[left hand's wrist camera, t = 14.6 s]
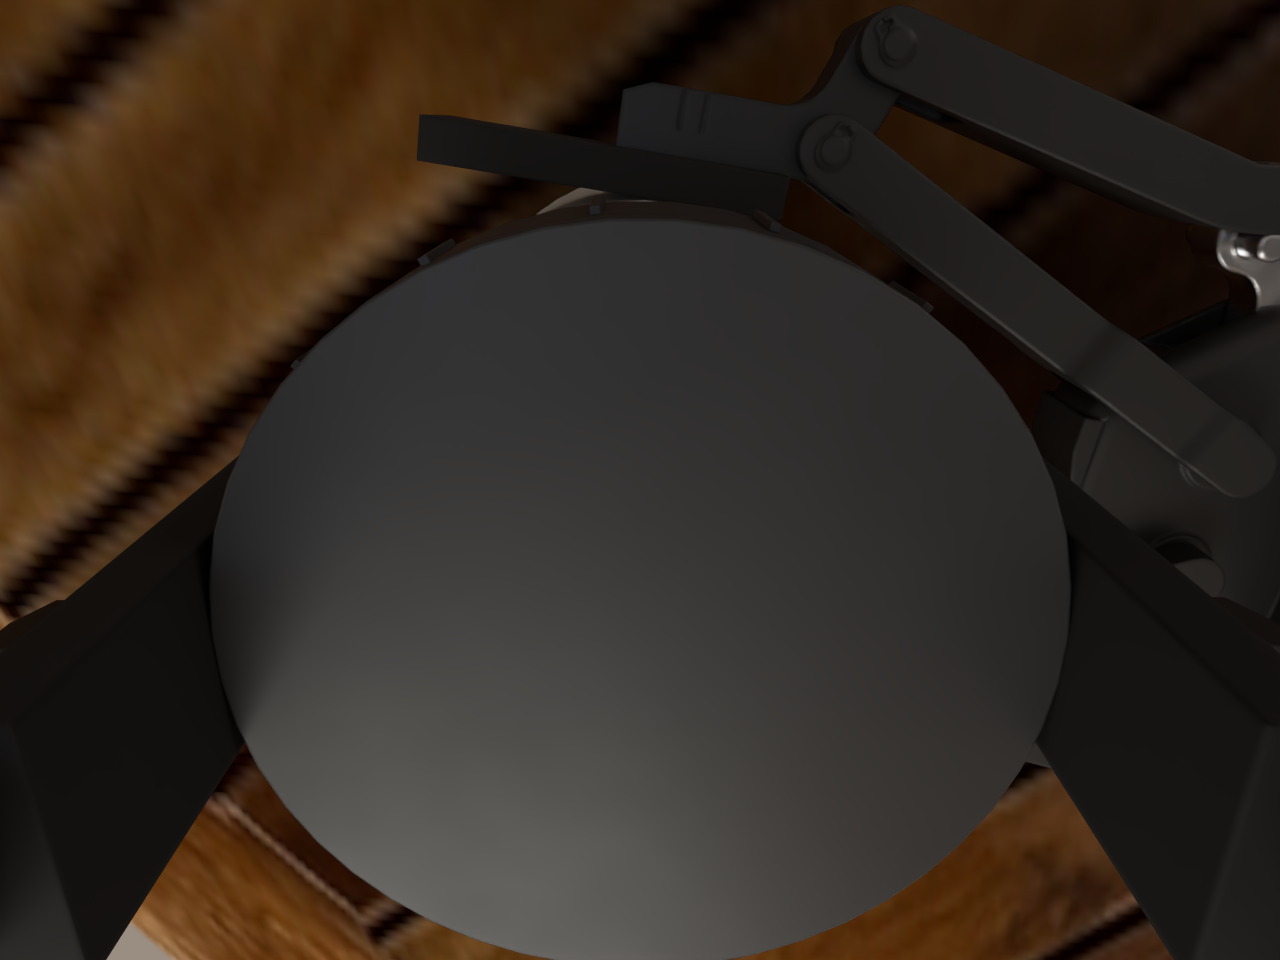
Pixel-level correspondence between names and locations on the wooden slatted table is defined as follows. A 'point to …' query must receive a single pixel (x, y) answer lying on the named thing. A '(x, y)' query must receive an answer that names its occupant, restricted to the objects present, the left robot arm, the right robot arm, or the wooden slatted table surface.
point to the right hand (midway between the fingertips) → (418, 377)
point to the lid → (640, 587)
